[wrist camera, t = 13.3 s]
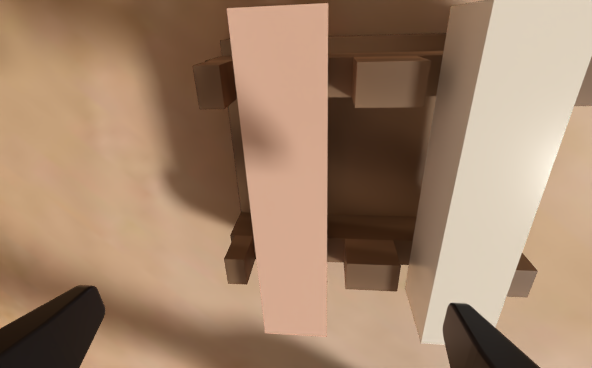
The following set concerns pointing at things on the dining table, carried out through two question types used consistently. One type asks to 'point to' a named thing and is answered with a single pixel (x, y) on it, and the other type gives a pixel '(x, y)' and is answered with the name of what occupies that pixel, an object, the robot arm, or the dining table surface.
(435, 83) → the rack
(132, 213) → the dining table surface
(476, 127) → the strip
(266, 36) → the clay strip
